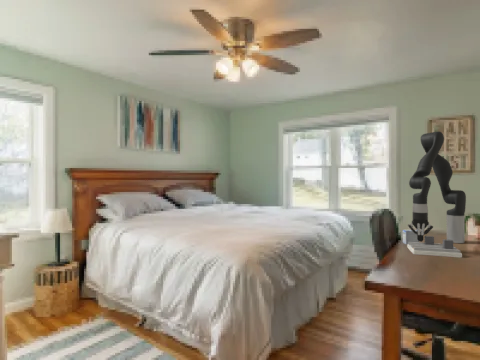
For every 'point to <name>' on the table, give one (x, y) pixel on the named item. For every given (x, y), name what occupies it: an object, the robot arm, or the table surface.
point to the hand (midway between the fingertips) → (420, 241)
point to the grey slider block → (447, 244)
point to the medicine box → (409, 236)
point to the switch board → (433, 250)
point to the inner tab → (429, 240)
